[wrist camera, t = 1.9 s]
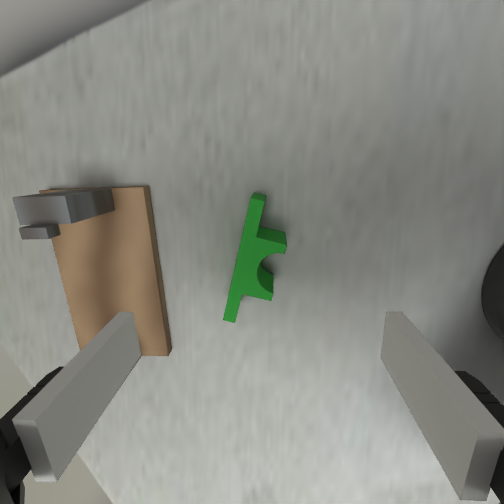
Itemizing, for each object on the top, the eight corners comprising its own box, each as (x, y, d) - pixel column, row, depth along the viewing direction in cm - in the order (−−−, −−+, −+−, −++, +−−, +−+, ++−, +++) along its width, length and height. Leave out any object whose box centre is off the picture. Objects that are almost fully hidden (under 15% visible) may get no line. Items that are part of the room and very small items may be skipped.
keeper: (148, 186, 27) (95, 196, 19) (171, 349, 32) (138, 411, 24) (48, 189, 27) (-44, 200, 19) (87, 347, 33) (28, 407, 25)
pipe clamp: (264, 305, 30) (263, 330, 25) (230, 297, 30) (222, 320, 25) (293, 201, 26) (297, 209, 22) (254, 191, 26) (250, 198, 22)
